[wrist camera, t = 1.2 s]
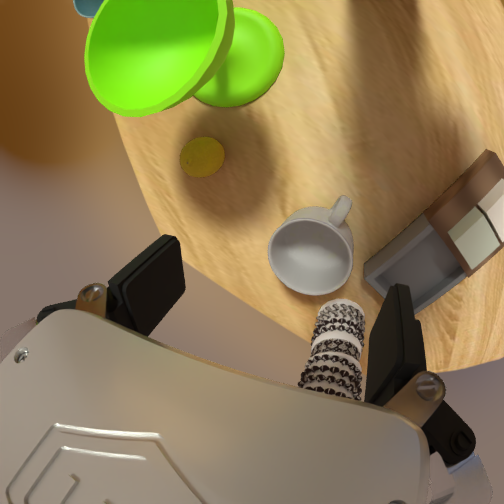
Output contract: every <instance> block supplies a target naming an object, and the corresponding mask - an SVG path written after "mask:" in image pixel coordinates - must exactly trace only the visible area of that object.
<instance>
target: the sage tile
mask: <svg viewBox="0 0 504 504" xmlns="http://www.w3.org/2000/svg"><path fill="white" fill-rule="evenodd" d="M448 234H449V235H450V237H451V239H452V240H453V242H454V243H455V245H456V246H457V248H458V249H459V251H460V252H461V254H462V255H463V257H464V258H465V260H466V261H467V263H468V264H469V266H470V268H471V269H472V270H473V269H474V268H475V267H476V266H477V265H478V264H480V263H481V262H482V261H483V260H484V259H485V258H486V257H488V256H489V255H490V254H491V253H492V252H493V251H494V250H495V249H496V248H497V247H498V246H499V245H500V244H499V242H498V240H497V238H496V236H495V234H494V232H493V230H492V229H491V227H490V225H489V223H488V222H487V220H486V218H485V217H484V215H483V214H482V213H481V212H480V211H479V210H478V209H477V208H476V207H474V208H473V209H472V210H471V211H470V212H469V213H468V214H467V215H466V216H464V217H463V218H462V219H461V220H460V221H459V222H458V223H457V224H456V225H455V226H454V227H453V228H452V229H450V230H449V231H448Z"/></svg>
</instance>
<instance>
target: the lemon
mask: <svg viewBox="0 0 504 504" xmlns="http://www.w3.org/2000/svg"><path fill="white" fill-rule="evenodd" d="M224 158H225V152H224V149H223V147H222V145H221V144H220V143H219V142H218V141H217V140H216V139H214V138H211V137H199V138H195V139H193V140H191V141H190V142H188V143H187V144H186V145H185V146H184V148H183V149H182V151H181V154H180V165H181V167H182V169H183V170H184V171H185V172H186V173H187V174H188V175H190V176H193V177H200V178H202V177H207V176H210V175H212V174H214V173H215V172H217V171H218V170H219V169H220V168H221V166H222V164H223V162H224Z"/></svg>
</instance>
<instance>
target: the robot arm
mask: <svg viewBox="0 0 504 504" xmlns="http://www.w3.org/2000/svg"><path fill="white" fill-rule="evenodd" d="M108 284H109V287H108V288H106V286H105V285H103V284H101V283H93V284H89V285H87V286H85V287H84V288H82V289H81V291H80V292H79V294H78V296H77V299H76V300H72V301H68V302H63V303H58V304H54V305H50V306H47V307H45V308H43V309H42V311H40V313H39V314H38V316H37V319H35V317H34V318H32V319H30V320H28V321H26V322H24V323H21V324H19V325H17V326H15V327H13V328H11V329H9V330H7V331H6V332H5V333H4V334H3V335H2V337H1V340H0V345H1V358H2V362H1V364H0V504H426V500H427V494H428V486H429V477H430V480H431V482H432V483H431V484H430V487H431V490H432V499H431V502H430V503H429V504H489V503H490V502H491V499H492V495H493V491H492V486H491V484H490V481H489V479H488V476H487V474H486V471H485V469H484V466H483V464H482V462H481V459H480V457H479V455H476V456H475V454H474V452H473V451H474V449H475V444H476V438H475V435H474V433H473V431H472V430H471V429H470V427H469V426H468V425H467V424H466V423H465V422H464V421H463V420H462V419H461V418H460V417H459V416H458V415H457V414H456V412H455V411H454V410H453V409H452V408H451V407H450V406H449V405H448V404H447V403H446V402H445V401H444V400H443V399H444V397H445V394H446V387H445V384H444V382H443V380H442V379H441V378H440V377H439V375H437V374H436V373H434V372H431V371H427V368H426V358H425V350H424V342H423V335H422V328H421V323H420V321H419V320H416V319H415V315H414V309H413V304H412V298H411V293H410V288H409V286H408V285H404V284H399V283H396V284H395V285H394V286H390V287H389V290H388V292H387V295H386V298H385V300H384V302H383V305H382V307H381V310H380V312H379V314H378V317H377V319H376V321H375V324H374V326H373V328H372V330H371V333H370V337H369V353H368V368H367V380H366V390H365V400H364V402H362V401H358V400H353V399H349V398H344V397H339V396H334V395H330V394H325V393H321V392H316V391H312V390H308V389H304V388H299V387H295V386H291V385H287V384H284V383H280V382H276V381H272V380H268V379H265V378H262V377H258V376H255V375H252V374H248V373H245V372H242V371H238V370H235V369H232V368H229V367H226V366H223V365H220V364H217V363H214V362H211V361H208V360H206V359H203V358H200V357H197V356H195V355H192V354H189V353H187V352H183V351H181V350H179V349H176V348H174V347H171V346H168V345H166V344H163V343H161V342H158V341H156V340H154V339H151V338H149V337H148V336H149V335H150V333H151V332H152V331H153V329H154V328H155V327H156V326H157V325H158V324H159V322H160V321H161V320H162V319H163V317H164V316H165V315H166V314H167V313H168V311H169V310H170V309H171V308H172V307H173V305H174V304H175V303H176V302H177V301H178V299H179V298H180V297H181V296H182V294H183V293H184V291H185V288H186V287H185V279H184V272H183V264H182V256H181V248H180V242H179V240H177V238H176V237H175V236H171V235H166V234H164V235H162V236H161V237H160V238H159V239H157V240H156V241H155V242H154V243H152V244H151V245H150V246H149V247H147V248H146V249H145V250H144V251H143V252H141V253H140V254H139V255H138V256H137V257H135V258H134V259H133V260H132V261H131V262H130V263H128V264H127V265H126V266H125V267H124V268H122V269H121V270H120V271H119V272H118V273H117V274H116V275H114V276H113V277H112V278H111V279H110V280H109V281H108ZM389 502H390V503H389Z"/></svg>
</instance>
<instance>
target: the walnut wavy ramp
mask: <svg viewBox="0 0 504 504" xmlns="http://www.w3.org/2000/svg"><path fill="white" fill-rule="evenodd" d="M501 179H504V166H503V164H502V163H501V161H500V159H499V158H498V156H497V155H496V153H494V152H492V151H490V150H487V149H486V150H485V151H484V152H483V153H482V154H481V155H480V156H479V158H478V159H477V160H476V161H475V162H474V163H473V164H472V165H471V166H470V167H469V168H468V169H467V170H466V171H465V172H464V173H463V174H462V175H461V176H460V177H459V178H458V179H457V181H456V182H455V183H454V184H453V185H452V186H451V187H450V188H448V189H447V190H446V191H445V192H444V193H443V194H442V195H441V196H440V197H439V198H438V199H437V200H436V201H435V202H434V203H433V204H432V205H431V206H430V207H429V208H428V209H427V210H426V211H424V212H423V214H424V215H425V217H426V219H427V220H428V222H429V223H430V224H431V226H432V227H433V228H434V229H435V231H436V232H437V233H438V235H439V236H440V237H441V239H442V240H443V241H444V243H445V244H446V245H447V247H448V248H449V250H450V251H451V252H452V254H453V255H454V257H455V258H456V260H457V261H458V263H459V264H460V265H461V267H462V268H463V270H464V272H465V273H466V275H467V276H468V278H469V277H470V276H471V275H472V274H473V273H475V272H476V271H477V270H478V269H479V268H481V267H482V266H483V265H484V264H485V263H486V262H487V261H489V260H490V259H491V258H492V257H493V256H494V255H495V254H496V253H497V252H498V251H499V250H501V249H502V248H503V247H504V242H502V241H501V240H500V239H499V238H498V236H497V235H496V234H495V233H494V234H495V236H496V238H497V240H498V242H499V244H500V245H499V246H498V247H497V248H496V249H495V250H494V251H493V252H492V253H491V254H490V255H489V256H488V257H486V258H485V259H484V260H483V261H482V262H481V263H480V264H478V265H477V266H476V267H475V268H474V269H473V270H472V269H471V268H470V266H469V264H468V263H467V261H466V260H465V258H464V257H463V255H462V254H461V252H460V251H459V249H458V248H457V246H456V245H455V243H454V242H453V240H452V239H451V237H450V235H449V234H448V231H449V230H450V229H452V228H453V227H454V226H455V225H456V224H457V223H458V222H459V221H460V220H461V219H462V218H463V217H464V216H466V215H467V214H468V213H469V212H470V211H471V210H472V209H473V208H474V207H476V208H477V209H478V210H479V211H480V212H481V213H482V214H483V212H482V211H481V209H480V207H479V206H478V203H479V202H480V201H481V200H482V199H483V198H484V197H485V196H486V195H487V194H488V193H489V192H490V191H491V189H492V188H493V187H494V186H495V185H496V184H497V183H498V182H499V181H500V180H501ZM483 215H484V214H483ZM484 217H485V216H484ZM485 218H486V217H485ZM486 220H487V219H486ZM487 222H488V221H487ZM488 223H489V222H488ZM489 225H490V224H489ZM490 227H491V226H490ZM491 229H492V228H491ZM493 232H494V231H493Z"/></svg>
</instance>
